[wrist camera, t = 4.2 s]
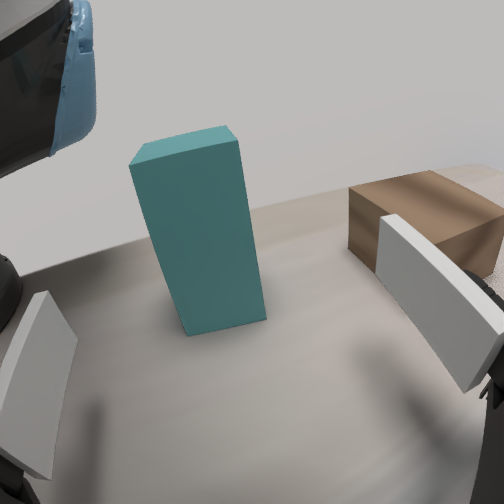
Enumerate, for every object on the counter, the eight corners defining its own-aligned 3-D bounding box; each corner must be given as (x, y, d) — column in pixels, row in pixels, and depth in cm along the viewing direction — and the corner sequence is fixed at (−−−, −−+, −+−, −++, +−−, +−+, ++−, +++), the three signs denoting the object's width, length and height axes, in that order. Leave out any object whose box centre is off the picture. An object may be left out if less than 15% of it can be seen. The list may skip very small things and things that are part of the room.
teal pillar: (187, 336, 17) (128, 165, 12) (185, 288, 21) (143, 144, 16) (266, 319, 18) (237, 140, 12) (251, 273, 21) (225, 125, 16)
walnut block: (416, 318, 16) (434, 244, 13) (348, 250, 22) (348, 187, 20) (491, 275, 17) (509, 212, 14) (424, 225, 24) (429, 170, 21)
